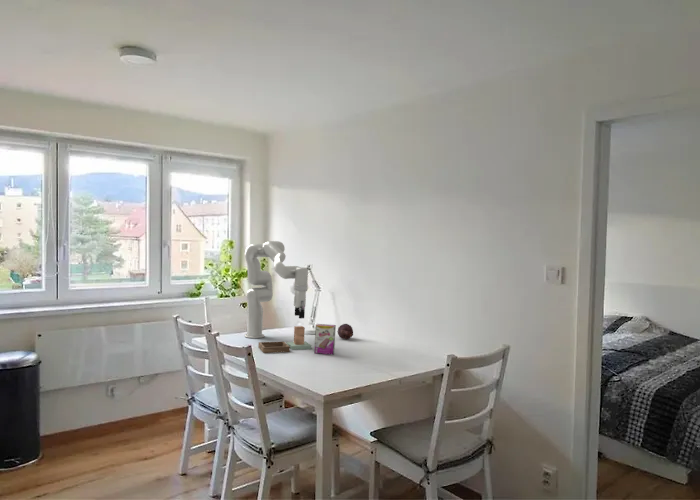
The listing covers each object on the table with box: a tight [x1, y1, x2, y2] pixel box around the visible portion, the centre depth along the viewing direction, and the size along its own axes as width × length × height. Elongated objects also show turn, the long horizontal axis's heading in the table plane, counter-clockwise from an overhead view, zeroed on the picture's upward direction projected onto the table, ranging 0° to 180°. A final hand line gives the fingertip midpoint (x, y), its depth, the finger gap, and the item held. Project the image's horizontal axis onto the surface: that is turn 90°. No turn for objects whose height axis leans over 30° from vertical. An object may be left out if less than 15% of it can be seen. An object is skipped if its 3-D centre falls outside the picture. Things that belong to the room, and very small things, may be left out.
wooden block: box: [293, 325, 305, 345], centre depth 311 cm, size 5×5×10 cm
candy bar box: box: [314, 323, 337, 355], centre depth 297 cm, size 11×5×16 cm, turn 84°
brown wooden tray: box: [257, 341, 291, 354], centre depth 302 cm, size 15×15×3 cm
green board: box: [286, 340, 313, 351], centre depth 312 cm, size 12×12×2 cm
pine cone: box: [336, 323, 354, 340], centre depth 342 cm, size 18×10×10 cm, turn 20°
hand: (299, 316), depth 311 cm, fingers open, 9 cm apart
